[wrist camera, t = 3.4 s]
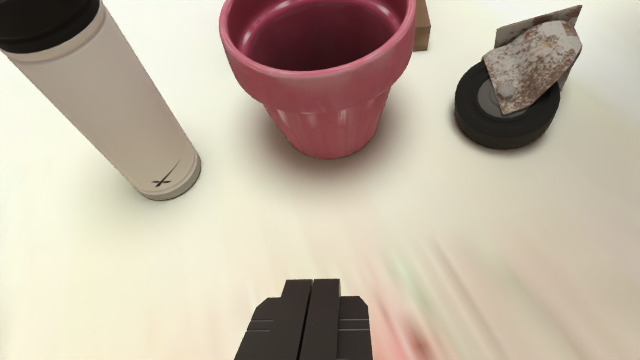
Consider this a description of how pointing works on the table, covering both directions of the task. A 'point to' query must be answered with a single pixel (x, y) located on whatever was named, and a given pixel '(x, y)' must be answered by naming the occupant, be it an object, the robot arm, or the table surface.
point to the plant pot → (320, 64)
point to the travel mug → (100, 89)
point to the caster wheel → (518, 81)
